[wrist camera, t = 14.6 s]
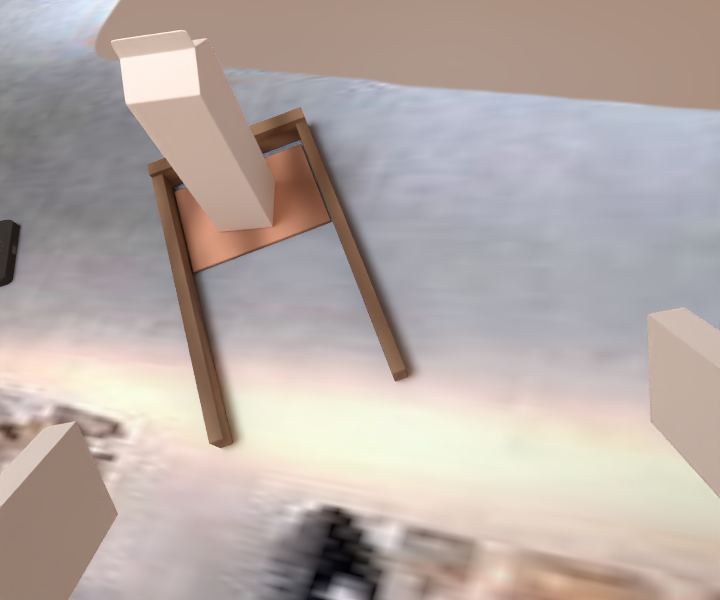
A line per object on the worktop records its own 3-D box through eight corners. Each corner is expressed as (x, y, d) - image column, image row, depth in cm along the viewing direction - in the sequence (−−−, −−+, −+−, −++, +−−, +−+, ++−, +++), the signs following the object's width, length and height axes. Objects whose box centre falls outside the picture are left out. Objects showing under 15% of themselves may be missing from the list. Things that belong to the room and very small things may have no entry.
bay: (307, 126, 63) (300, 107, 60) (407, 376, 49) (405, 366, 47) (160, 181, 63) (147, 164, 60) (220, 448, 49) (207, 442, 46)
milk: (273, 227, 58) (182, 62, 38) (218, 233, 58) (100, 73, 38) (275, 180, 60) (191, 0, 40) (222, 185, 61) (114, 12, 41)
